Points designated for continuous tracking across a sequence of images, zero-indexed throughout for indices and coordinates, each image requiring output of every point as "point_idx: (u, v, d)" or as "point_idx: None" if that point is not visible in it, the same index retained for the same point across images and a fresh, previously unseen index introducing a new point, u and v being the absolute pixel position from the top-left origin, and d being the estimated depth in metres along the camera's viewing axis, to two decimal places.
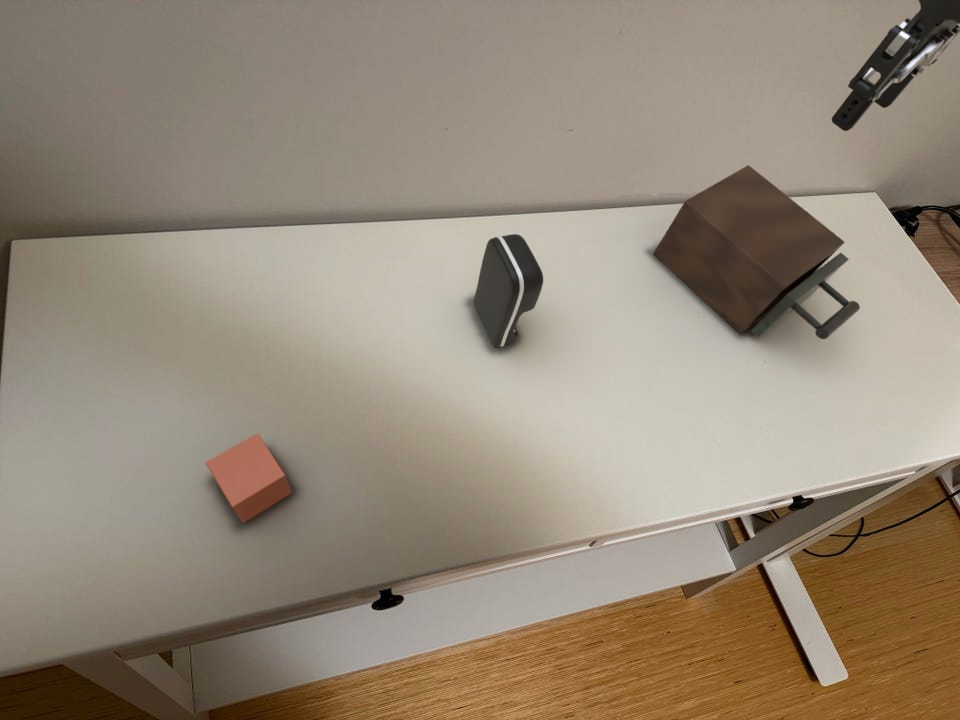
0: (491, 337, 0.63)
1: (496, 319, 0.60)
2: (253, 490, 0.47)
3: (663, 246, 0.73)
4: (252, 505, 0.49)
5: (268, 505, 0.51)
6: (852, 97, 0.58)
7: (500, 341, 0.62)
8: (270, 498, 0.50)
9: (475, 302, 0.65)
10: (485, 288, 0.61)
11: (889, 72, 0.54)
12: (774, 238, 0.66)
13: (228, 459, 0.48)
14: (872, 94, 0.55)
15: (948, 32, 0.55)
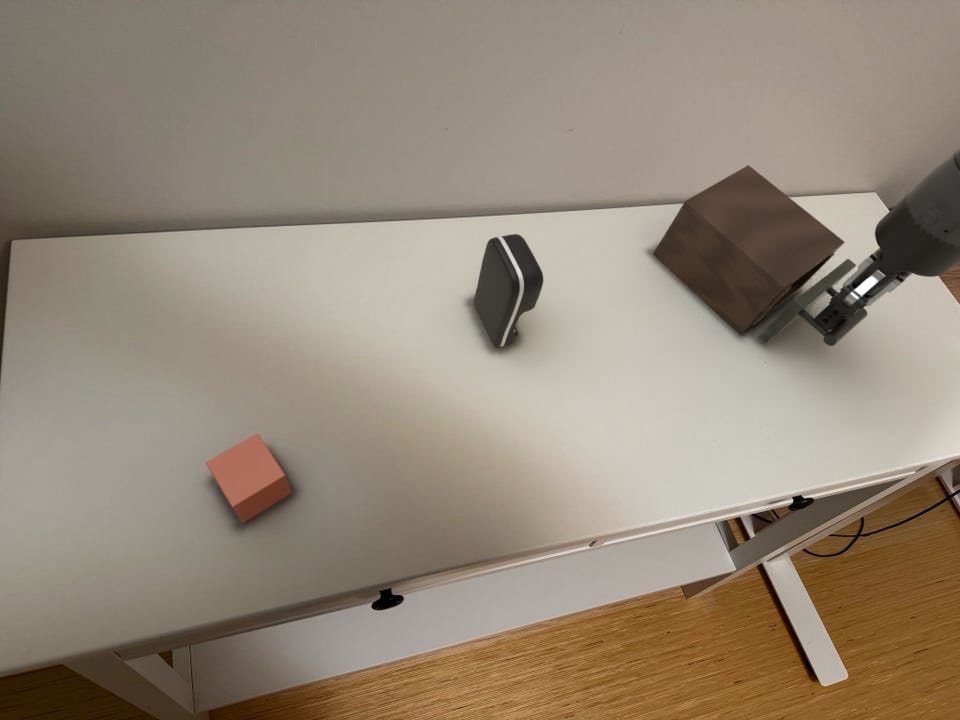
0: (491, 337, 0.63)
1: (496, 319, 0.60)
2: (253, 490, 0.47)
3: (663, 246, 0.73)
4: (252, 505, 0.49)
5: (268, 505, 0.51)
6: (833, 308, 0.64)
7: (500, 341, 0.62)
8: (270, 498, 0.50)
9: (475, 302, 0.65)
10: (485, 288, 0.61)
11: (851, 313, 0.60)
12: (774, 238, 0.66)
13: (228, 459, 0.48)
14: None
15: None
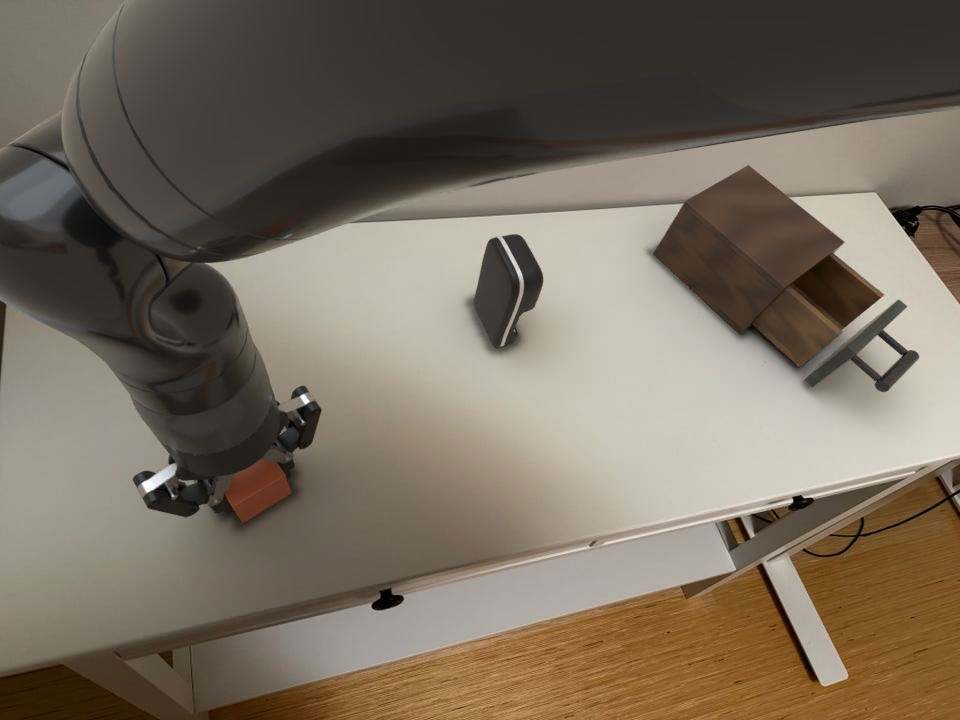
0: (491, 337, 0.63)
1: (496, 319, 0.60)
2: (253, 490, 0.47)
3: (663, 246, 0.73)
4: (252, 505, 0.49)
5: (268, 505, 0.51)
6: None
7: (500, 341, 0.62)
8: (270, 498, 0.50)
9: (475, 302, 0.65)
10: (485, 288, 0.61)
11: (167, 512, 0.43)
12: (774, 238, 0.66)
13: None
14: (184, 514, 0.45)
15: None
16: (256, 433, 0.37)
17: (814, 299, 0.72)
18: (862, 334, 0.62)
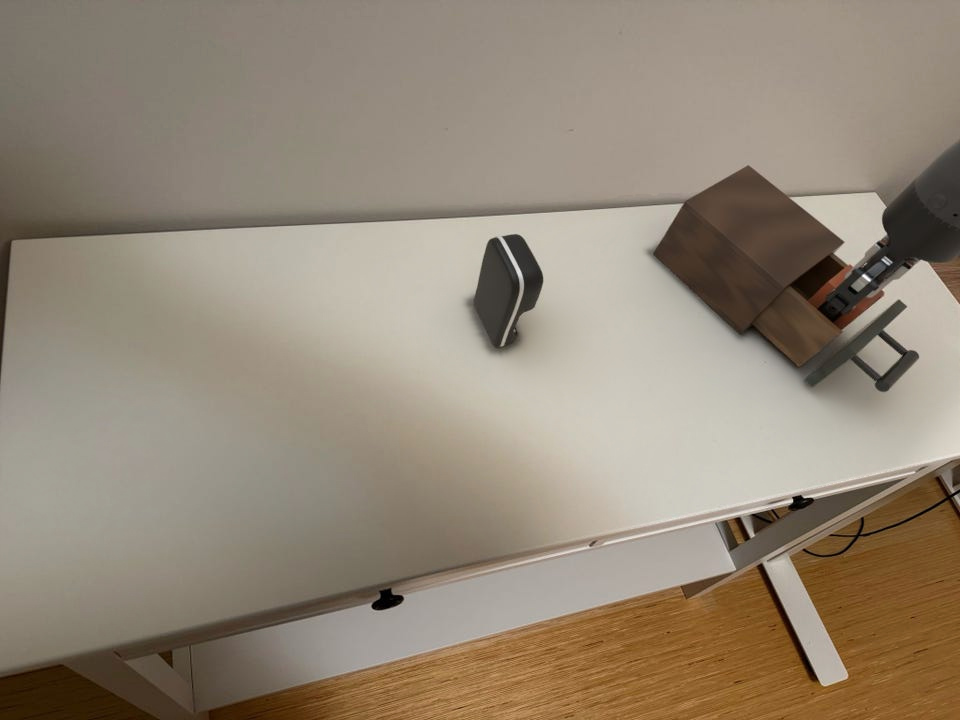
0: (491, 337, 0.63)
1: (496, 319, 0.60)
2: (871, 301, 0.62)
3: (663, 246, 0.73)
4: None
5: None
6: (829, 304, 0.62)
7: (500, 341, 0.62)
8: None
9: (475, 302, 0.65)
10: (485, 288, 0.61)
11: (856, 302, 0.57)
12: (774, 238, 0.66)
13: (842, 280, 0.63)
14: (847, 311, 0.59)
15: None
16: None
17: None
18: (862, 334, 0.62)
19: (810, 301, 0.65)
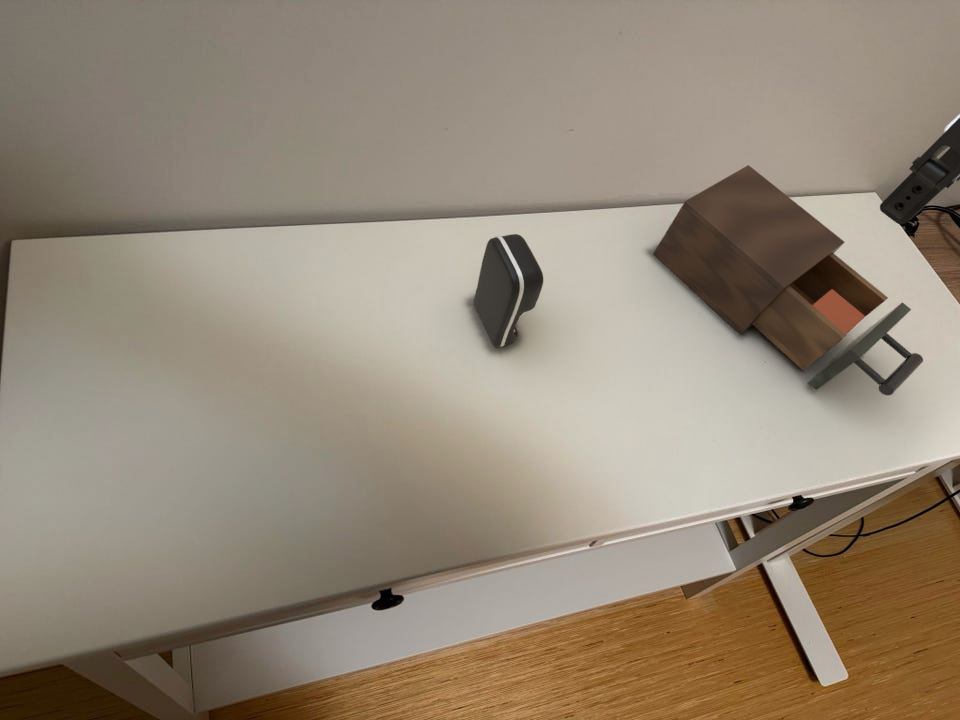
0: (491, 337, 0.63)
1: (496, 319, 0.60)
2: (851, 325, 0.64)
3: (663, 246, 0.73)
4: None
5: None
6: (913, 181, 0.40)
7: (500, 341, 0.62)
8: None
9: (475, 302, 0.65)
10: (485, 288, 0.61)
11: None
12: (774, 238, 0.66)
13: (824, 305, 0.65)
14: (947, 183, 0.38)
15: None
16: None
17: None
18: (866, 337, 0.61)
19: None
